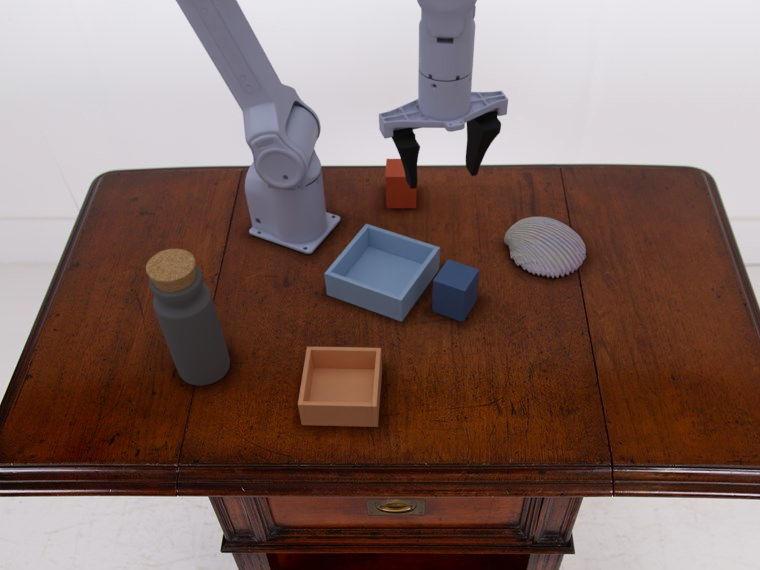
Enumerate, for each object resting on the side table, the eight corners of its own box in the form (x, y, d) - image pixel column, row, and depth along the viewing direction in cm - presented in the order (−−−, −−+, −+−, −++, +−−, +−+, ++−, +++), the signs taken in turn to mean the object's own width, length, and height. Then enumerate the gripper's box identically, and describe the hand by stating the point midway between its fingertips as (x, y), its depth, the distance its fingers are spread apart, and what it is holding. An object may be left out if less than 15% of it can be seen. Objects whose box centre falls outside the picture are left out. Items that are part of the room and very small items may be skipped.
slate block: (432, 311, 89) (432, 280, 85) (446, 290, 91) (447, 259, 87) (462, 322, 88) (465, 291, 84) (476, 301, 90) (479, 269, 86)
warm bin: (301, 425, 79) (297, 404, 76) (310, 367, 84) (306, 346, 81) (378, 427, 79) (376, 406, 76) (382, 369, 84) (381, 347, 81)
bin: (326, 295, 91) (324, 273, 88) (367, 245, 97) (366, 223, 94) (401, 322, 88) (401, 300, 85) (439, 269, 94) (440, 247, 91)
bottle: (207, 394, 82) (172, 293, 70) (166, 372, 84) (126, 271, 72) (241, 359, 85) (213, 257, 73) (202, 339, 87) (168, 236, 75)
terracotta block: (386, 208, 101) (385, 176, 97) (387, 190, 104) (386, 158, 100) (416, 208, 101) (416, 176, 97) (416, 190, 104) (416, 158, 100)
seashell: (506, 200, 97) (586, 194, 94) (511, 235, 101) (588, 230, 98) (496, 250, 91) (582, 246, 88) (502, 285, 95) (584, 282, 92)
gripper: (391, 99, 76) (394, 209, 87) (524, 74, 79) (510, 184, 89) (371, 65, 80) (376, 174, 91) (498, 42, 83) (488, 151, 94)
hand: (441, 177), depth 90 cm, fingers open, 7 cm apart
